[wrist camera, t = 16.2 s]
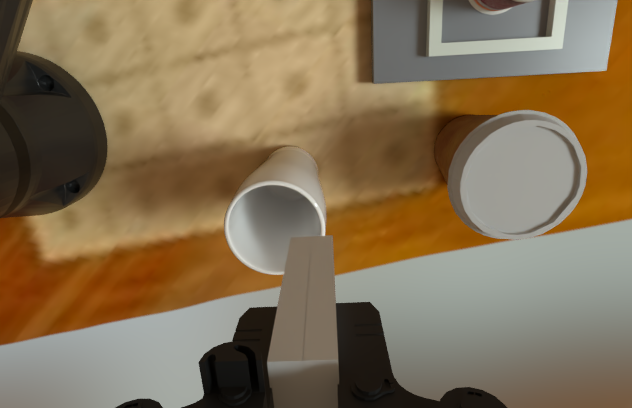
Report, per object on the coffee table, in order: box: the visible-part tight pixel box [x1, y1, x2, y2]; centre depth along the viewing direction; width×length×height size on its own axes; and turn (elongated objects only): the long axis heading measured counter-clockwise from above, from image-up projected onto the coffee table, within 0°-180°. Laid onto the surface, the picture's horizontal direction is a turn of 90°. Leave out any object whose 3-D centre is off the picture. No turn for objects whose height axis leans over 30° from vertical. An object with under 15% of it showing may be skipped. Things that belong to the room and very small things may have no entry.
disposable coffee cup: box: [434, 110, 587, 240], centre depth 35 cm, size 10×10×12 cm
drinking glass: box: [224, 146, 327, 275], centre depth 34 cm, size 7×7×15 cm
